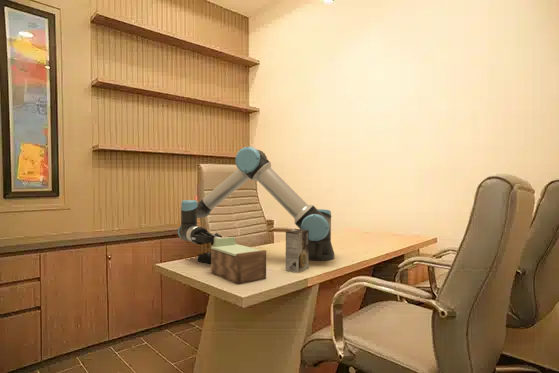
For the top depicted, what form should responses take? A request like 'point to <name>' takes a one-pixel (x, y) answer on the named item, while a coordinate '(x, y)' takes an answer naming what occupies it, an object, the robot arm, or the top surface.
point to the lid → (230, 246)
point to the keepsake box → (239, 266)
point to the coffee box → (297, 250)
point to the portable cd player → (205, 258)
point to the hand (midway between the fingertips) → (223, 242)
